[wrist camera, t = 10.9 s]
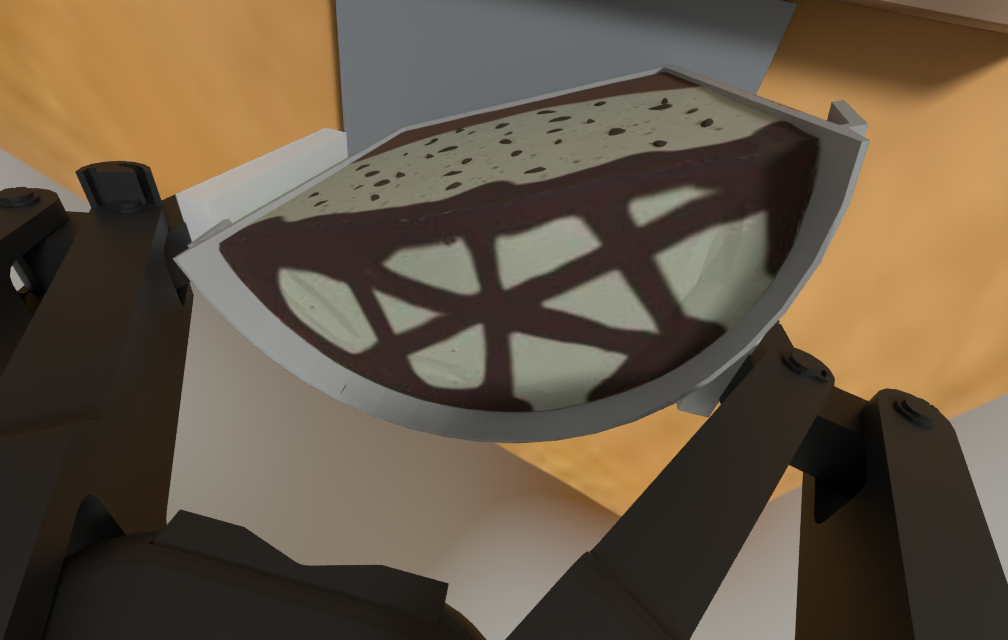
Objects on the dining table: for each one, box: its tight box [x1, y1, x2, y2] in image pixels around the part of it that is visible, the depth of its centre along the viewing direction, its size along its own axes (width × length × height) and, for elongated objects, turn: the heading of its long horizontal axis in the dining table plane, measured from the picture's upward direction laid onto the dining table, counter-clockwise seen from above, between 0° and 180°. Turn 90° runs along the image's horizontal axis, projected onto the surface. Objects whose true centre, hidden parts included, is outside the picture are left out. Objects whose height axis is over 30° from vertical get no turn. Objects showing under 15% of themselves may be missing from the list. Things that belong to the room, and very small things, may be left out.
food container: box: [173, 64, 870, 443], centre depth 12 cm, size 12×6×10 cm, turn 103°
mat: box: [336, 0, 798, 157], centre depth 17 cm, size 14×14×1 cm
